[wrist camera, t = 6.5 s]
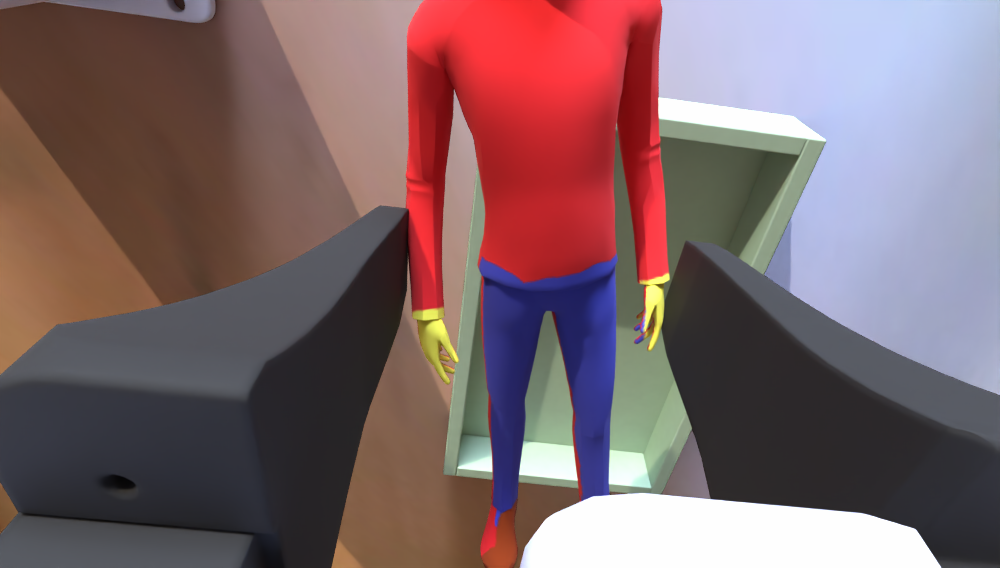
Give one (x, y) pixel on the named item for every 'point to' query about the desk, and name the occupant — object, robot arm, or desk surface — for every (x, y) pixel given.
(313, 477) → the robot arm
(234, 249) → the desk surface
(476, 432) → the tray
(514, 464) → the character figure
